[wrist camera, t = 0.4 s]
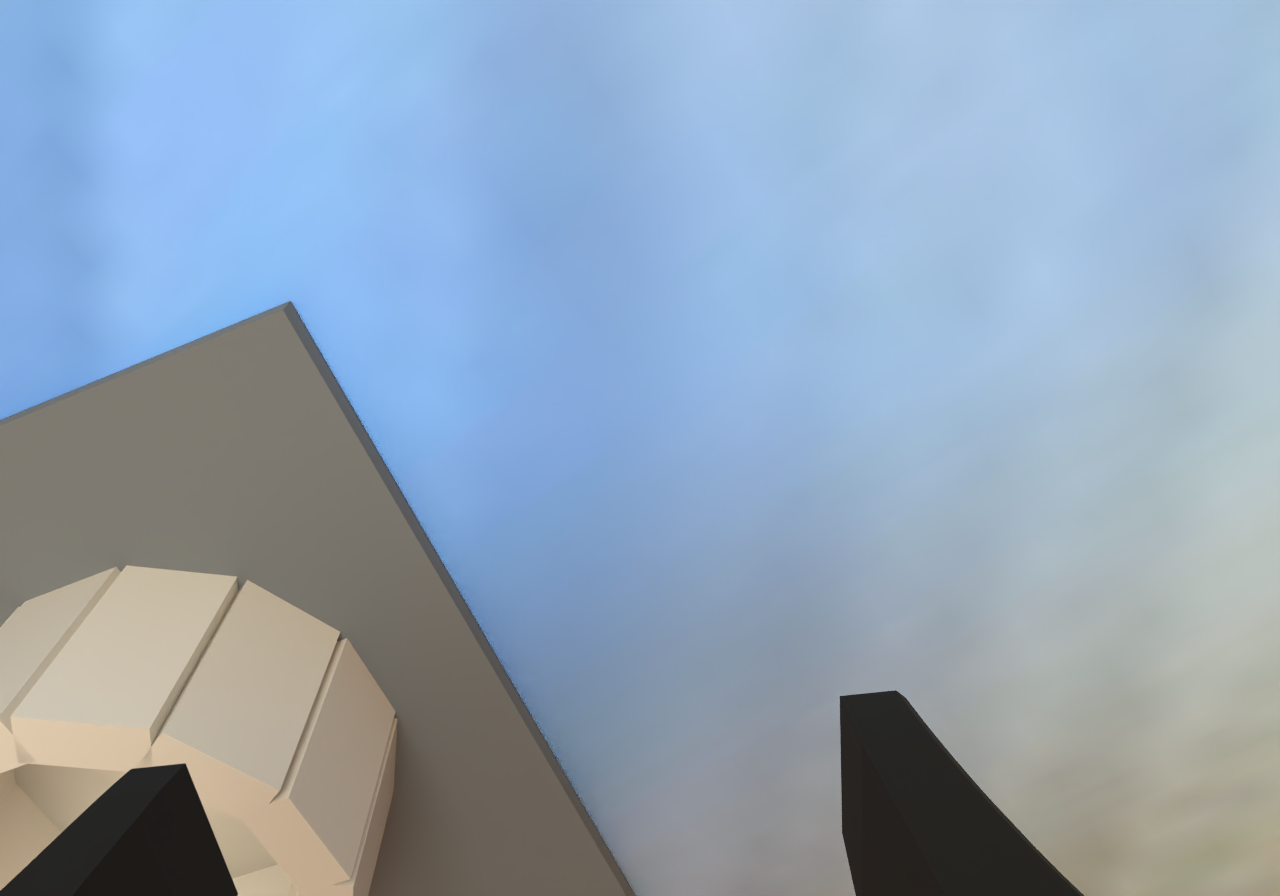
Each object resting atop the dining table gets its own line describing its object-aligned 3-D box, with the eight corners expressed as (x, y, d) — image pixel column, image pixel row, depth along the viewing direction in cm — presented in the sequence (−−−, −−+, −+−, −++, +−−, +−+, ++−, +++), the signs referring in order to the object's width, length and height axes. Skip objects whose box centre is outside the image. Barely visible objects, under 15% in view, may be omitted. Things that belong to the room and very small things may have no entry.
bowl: (462, 813, 24) (435, 989, 20) (136, 919, 25) (47, 1105, 21) (263, 511, 20) (177, 652, 16) (-111, 653, 21) (-278, 819, 17)
